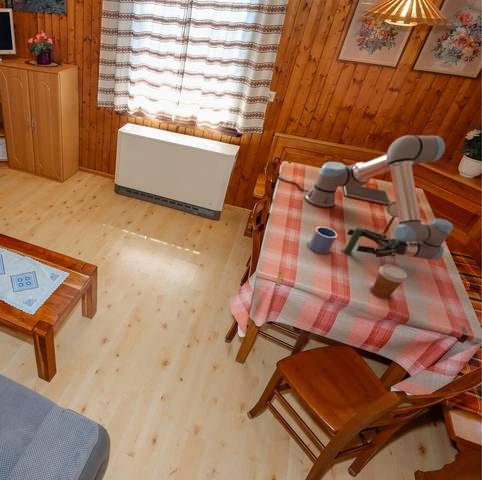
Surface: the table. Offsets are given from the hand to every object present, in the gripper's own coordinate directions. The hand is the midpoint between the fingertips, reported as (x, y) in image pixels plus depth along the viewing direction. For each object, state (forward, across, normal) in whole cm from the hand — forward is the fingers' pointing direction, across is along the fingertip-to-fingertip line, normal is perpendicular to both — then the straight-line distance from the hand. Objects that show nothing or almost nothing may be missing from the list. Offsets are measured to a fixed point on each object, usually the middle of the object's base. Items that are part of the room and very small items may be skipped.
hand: (352, 239), depth 176 cm
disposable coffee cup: (-5, -28, -8) cm, 29 cm away
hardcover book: (-31, +69, -8) cm, 76 cm away
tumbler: (+12, 0, -7) cm, 15 cm away
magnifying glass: (-25, +22, -8) cm, 34 cm away
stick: (0, 0, -7) cm, 7 cm away
